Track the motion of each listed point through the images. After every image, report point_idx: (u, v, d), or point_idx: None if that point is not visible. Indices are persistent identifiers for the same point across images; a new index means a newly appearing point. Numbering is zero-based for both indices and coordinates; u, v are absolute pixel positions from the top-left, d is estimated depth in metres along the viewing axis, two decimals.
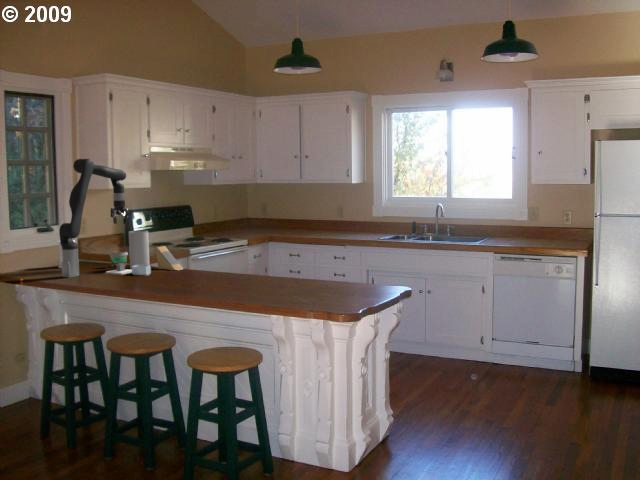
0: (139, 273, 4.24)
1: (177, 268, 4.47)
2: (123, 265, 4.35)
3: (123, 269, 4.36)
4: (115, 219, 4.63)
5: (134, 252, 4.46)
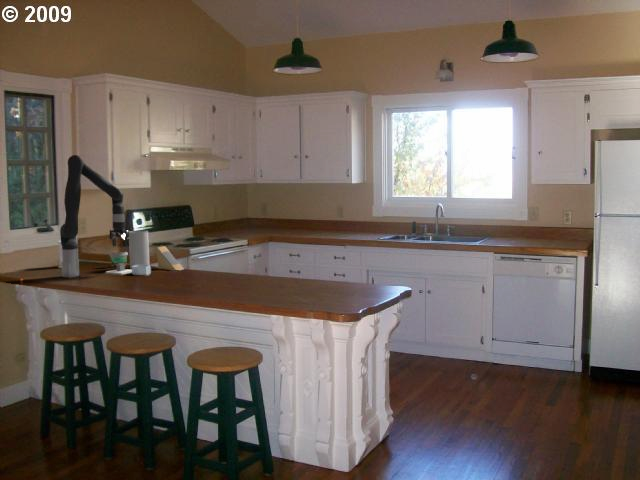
0: (139, 273, 4.24)
1: (178, 268, 4.46)
2: (123, 265, 4.35)
3: (123, 269, 4.36)
4: (114, 241, 4.35)
5: (134, 252, 4.46)
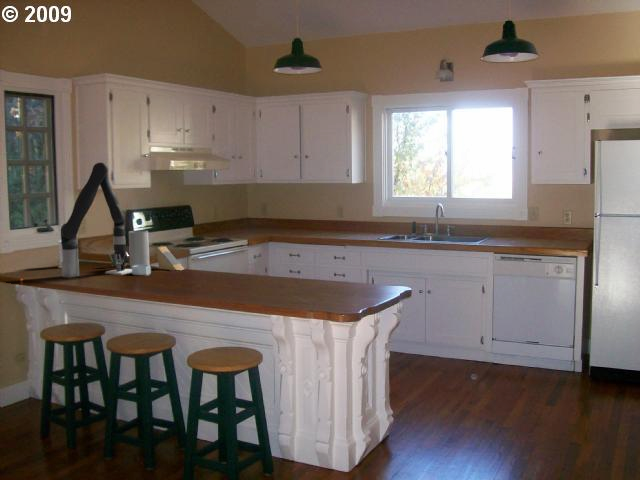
0: (139, 273, 4.24)
1: (179, 268, 4.46)
2: None
3: None
4: None
5: (134, 252, 4.46)
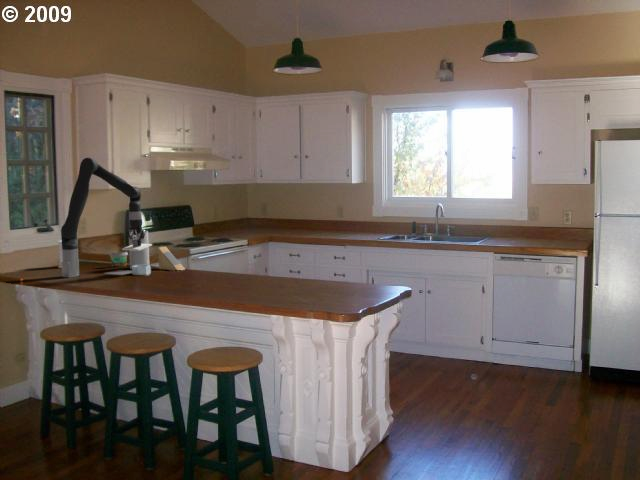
0: (139, 273, 4.24)
1: (179, 268, 4.46)
2: None
3: None
4: None
5: (134, 252, 4.46)
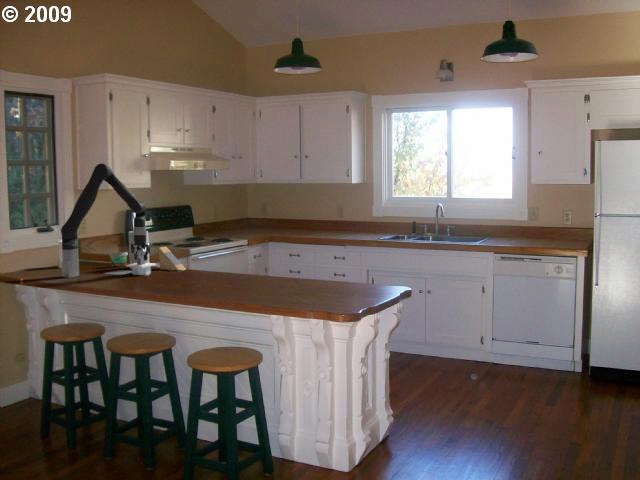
0: (139, 273, 4.24)
1: (181, 268, 4.46)
2: (143, 258, 4.29)
3: (143, 263, 4.29)
4: (136, 255, 4.30)
5: None
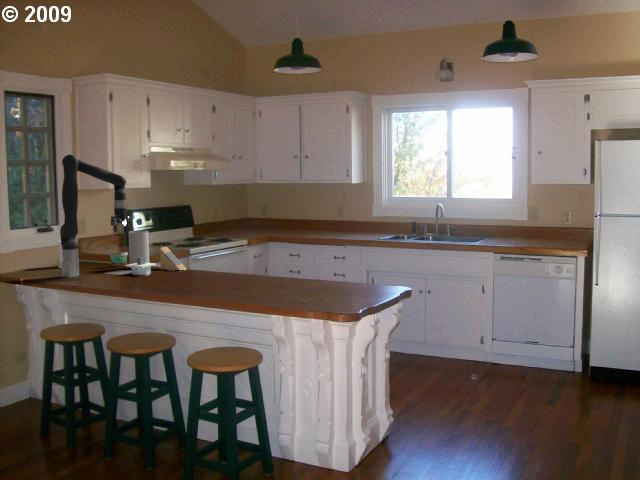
0: (139, 273, 4.24)
1: (182, 268, 4.45)
2: (143, 258, 4.29)
3: (143, 263, 4.29)
4: (115, 228, 4.35)
5: (134, 252, 4.46)
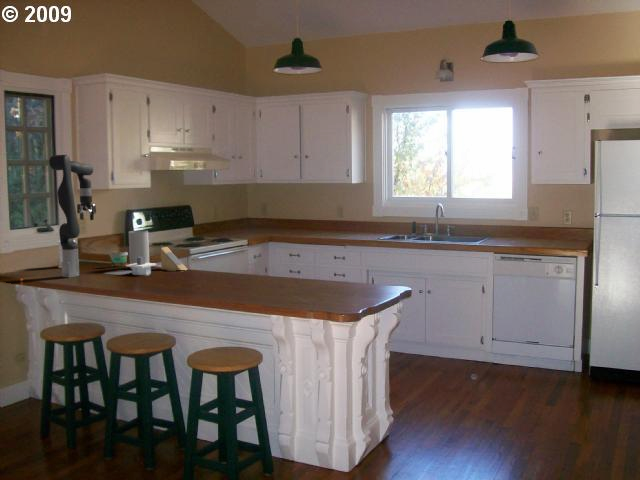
0: (139, 273, 4.24)
1: (183, 268, 4.45)
2: (143, 258, 4.29)
3: (143, 263, 4.29)
4: (82, 215, 4.49)
5: (134, 252, 4.46)
